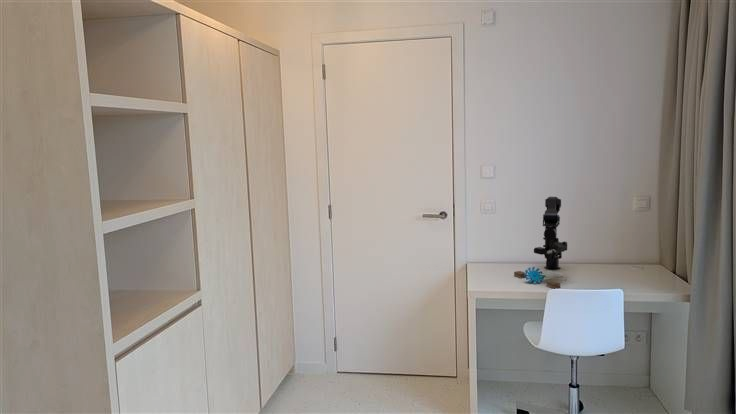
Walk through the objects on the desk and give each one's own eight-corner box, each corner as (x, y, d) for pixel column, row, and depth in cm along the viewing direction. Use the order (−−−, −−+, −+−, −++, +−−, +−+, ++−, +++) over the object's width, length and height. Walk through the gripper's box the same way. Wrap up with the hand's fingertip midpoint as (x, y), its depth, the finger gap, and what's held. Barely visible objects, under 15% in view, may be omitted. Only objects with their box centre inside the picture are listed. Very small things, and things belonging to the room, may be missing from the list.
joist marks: (519, 275, 299) (519, 270, 299) (560, 287, 274) (560, 282, 273) (514, 276, 298) (514, 271, 297) (554, 289, 272) (554, 284, 272)
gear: (525, 281, 281) (524, 265, 287) (522, 287, 286) (521, 270, 292) (547, 284, 280) (545, 267, 286) (543, 289, 285) (542, 273, 291)
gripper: (549, 240, 276) (548, 270, 278) (575, 236, 284) (575, 265, 286) (533, 237, 285) (532, 266, 287) (559, 233, 294) (558, 261, 296)
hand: (550, 264), depth 289 cm, fingers closed
